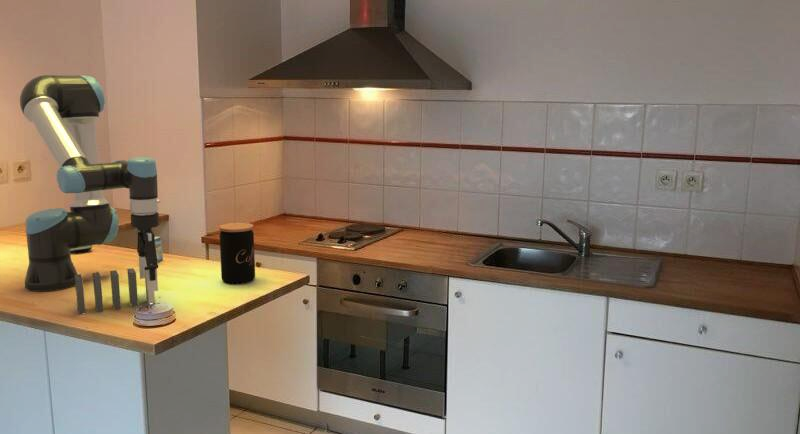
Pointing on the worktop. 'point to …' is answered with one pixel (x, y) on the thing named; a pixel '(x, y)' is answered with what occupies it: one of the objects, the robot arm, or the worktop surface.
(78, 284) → the domino
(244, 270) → the coffee jar
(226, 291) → the worktop surface
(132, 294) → the domino
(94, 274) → the domino
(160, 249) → the medicine box
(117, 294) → the domino
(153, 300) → the domino
